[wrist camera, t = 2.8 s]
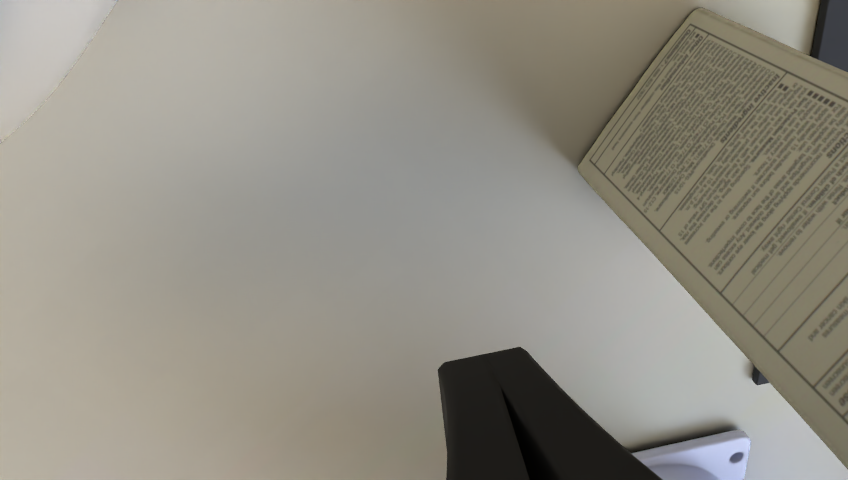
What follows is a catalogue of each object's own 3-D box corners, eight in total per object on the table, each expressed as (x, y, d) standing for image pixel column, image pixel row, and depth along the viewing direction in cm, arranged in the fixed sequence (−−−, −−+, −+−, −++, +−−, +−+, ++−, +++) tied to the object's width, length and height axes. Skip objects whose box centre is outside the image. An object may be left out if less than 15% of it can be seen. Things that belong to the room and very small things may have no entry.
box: (678, 231, 22) (999, 568, 12) (567, 166, 20) (847, 504, 11) (810, 77, 20) (1300, 336, 11) (701, -10, 18) (1180, 210, 9)
